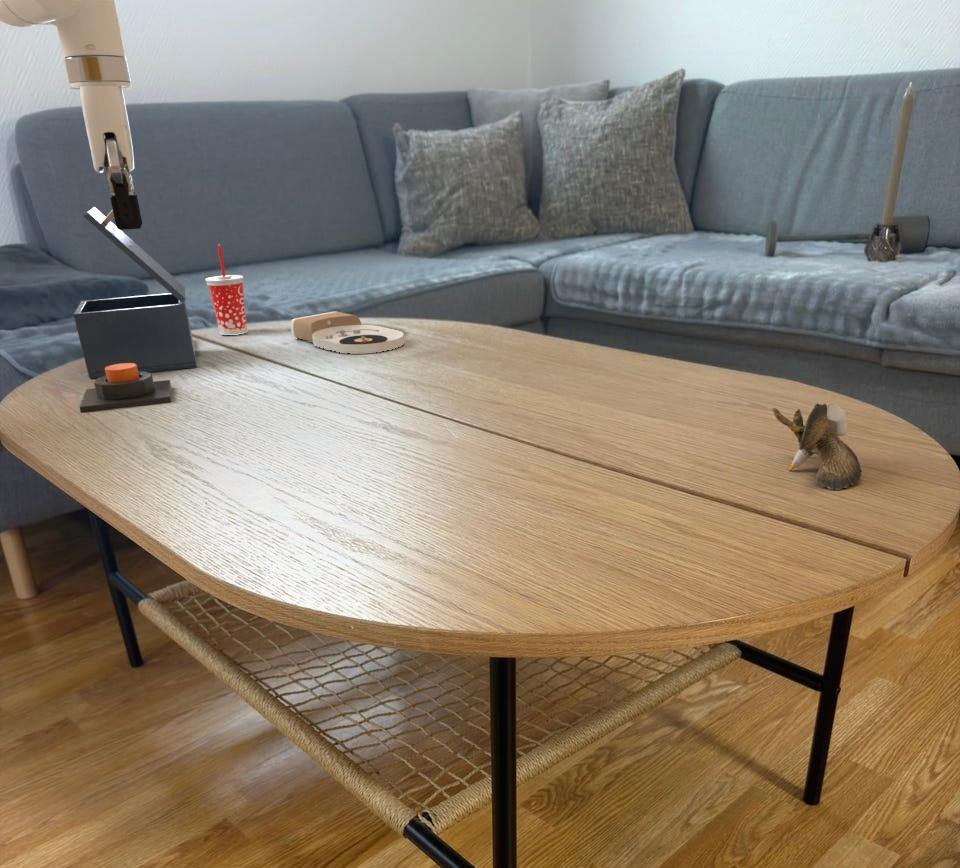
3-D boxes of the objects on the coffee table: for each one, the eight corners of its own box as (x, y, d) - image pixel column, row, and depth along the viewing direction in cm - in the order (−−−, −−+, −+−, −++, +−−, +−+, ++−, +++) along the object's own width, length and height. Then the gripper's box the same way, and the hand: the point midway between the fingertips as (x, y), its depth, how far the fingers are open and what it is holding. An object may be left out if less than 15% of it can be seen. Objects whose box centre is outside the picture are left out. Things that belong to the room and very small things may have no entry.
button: (107, 386, 102) (103, 371, 101) (109, 379, 105) (105, 365, 105) (139, 382, 103) (135, 367, 102) (140, 376, 106) (136, 361, 105)
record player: (344, 309, 145) (418, 324, 132) (346, 328, 147) (419, 345, 133) (283, 320, 139) (354, 337, 125) (286, 340, 140) (356, 359, 127)
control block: (84, 425, 101) (75, 391, 99) (90, 406, 109) (82, 374, 107) (173, 414, 103) (166, 381, 101) (173, 397, 111) (166, 365, 109)
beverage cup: (237, 337, 144) (222, 247, 138) (207, 336, 146) (191, 247, 140) (259, 330, 149) (245, 242, 143) (230, 329, 151) (215, 242, 145)
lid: (83, 216, 113) (108, 186, 113) (90, 211, 124) (113, 183, 123) (182, 303, 121) (206, 275, 121) (181, 290, 132) (203, 265, 131)
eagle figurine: (746, 446, 81) (779, 460, 72) (792, 378, 79) (831, 384, 70) (811, 487, 82) (852, 505, 73) (858, 421, 80) (905, 432, 72)
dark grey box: (89, 379, 122) (73, 314, 118) (96, 360, 133) (81, 300, 128) (196, 367, 126) (184, 304, 121) (194, 350, 136) (183, 292, 132)
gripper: (73, 81, 119) (105, 225, 127) (61, 70, 104) (97, 233, 113) (131, 80, 121) (158, 222, 129) (127, 69, 106) (158, 230, 115)
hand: (129, 226), depth 121 cm, fingers closed on lid, 5 cm apart
